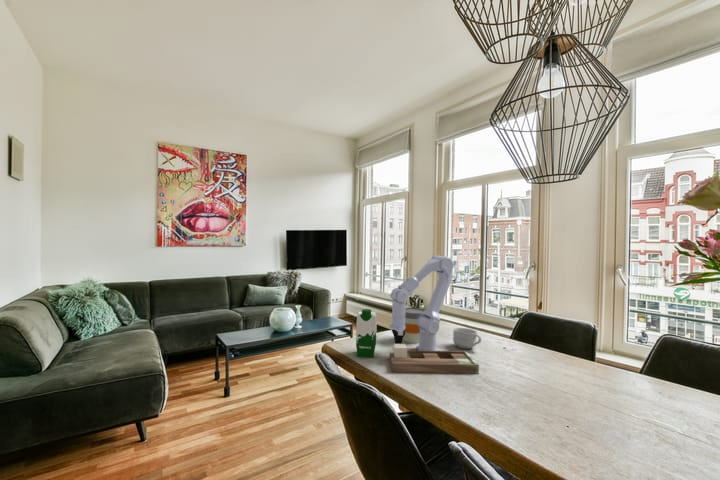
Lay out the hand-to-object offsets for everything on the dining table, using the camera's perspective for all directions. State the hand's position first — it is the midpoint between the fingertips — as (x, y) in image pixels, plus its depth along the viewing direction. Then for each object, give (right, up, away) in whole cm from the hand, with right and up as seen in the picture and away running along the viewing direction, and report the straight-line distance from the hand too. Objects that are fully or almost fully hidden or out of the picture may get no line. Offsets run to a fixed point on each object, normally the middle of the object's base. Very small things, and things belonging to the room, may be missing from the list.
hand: (398, 346), depth 145 cm
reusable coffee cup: (+10, -4, +21) cm, 23 cm away
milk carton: (-14, -4, +1) cm, 15 cm away
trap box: (+12, -4, -10) cm, 16 cm away
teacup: (+34, -4, +11) cm, 36 cm away
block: (0, -1, -7) cm, 7 cm away
